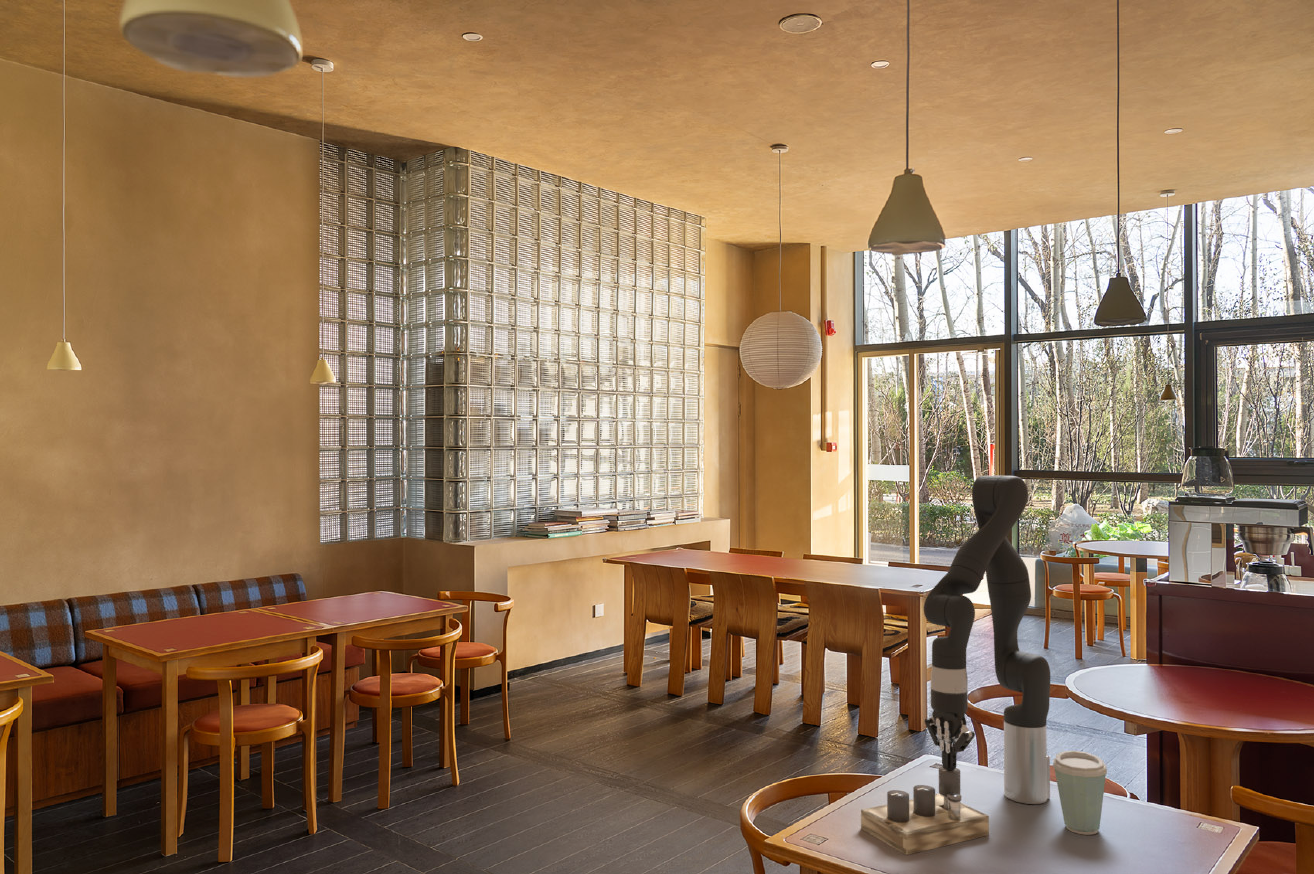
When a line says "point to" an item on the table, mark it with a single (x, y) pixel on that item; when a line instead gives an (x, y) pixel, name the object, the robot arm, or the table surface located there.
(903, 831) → the mount
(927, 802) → the knob mid
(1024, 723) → the robot arm
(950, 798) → the capped glass vial
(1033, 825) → the table surface
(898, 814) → the knob
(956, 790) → the knob
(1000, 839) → the table surface
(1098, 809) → the disposable coffee cup
